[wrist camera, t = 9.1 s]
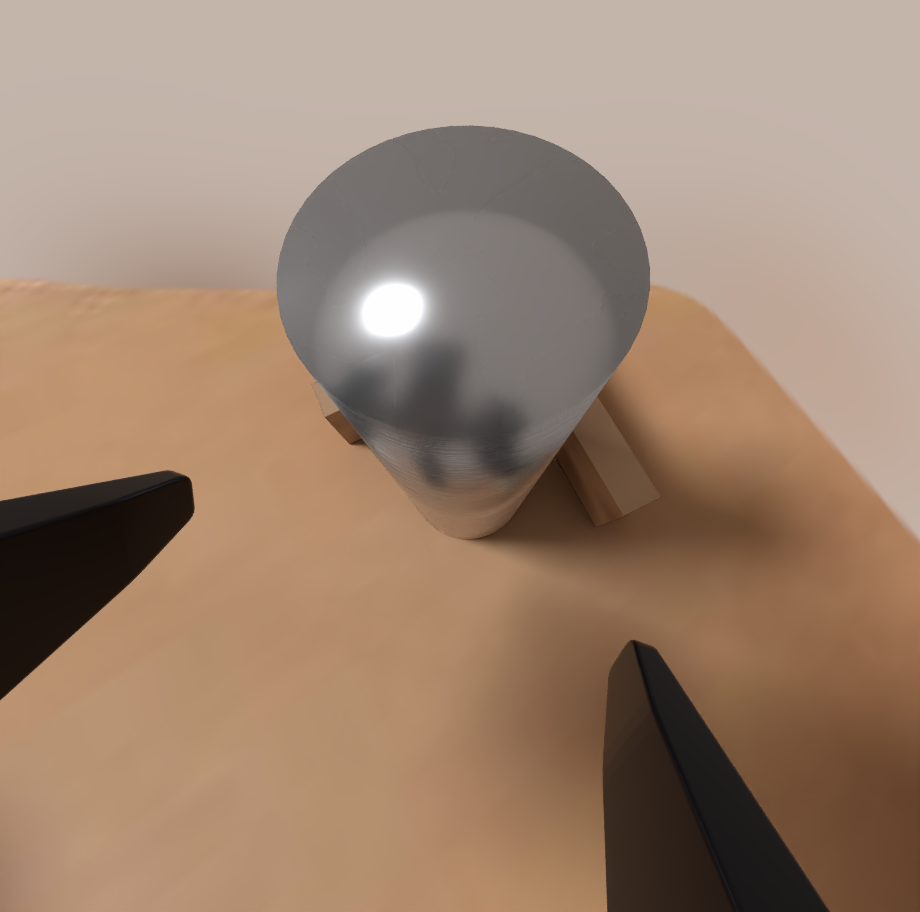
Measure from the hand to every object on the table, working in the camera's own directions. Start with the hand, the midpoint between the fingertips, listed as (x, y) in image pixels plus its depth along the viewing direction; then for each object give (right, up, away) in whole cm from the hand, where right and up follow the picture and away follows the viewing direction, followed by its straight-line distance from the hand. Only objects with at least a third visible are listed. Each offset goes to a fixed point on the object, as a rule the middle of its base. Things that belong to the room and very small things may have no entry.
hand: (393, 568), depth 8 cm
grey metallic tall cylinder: (+2, +1, +11) cm, 11 cm away
